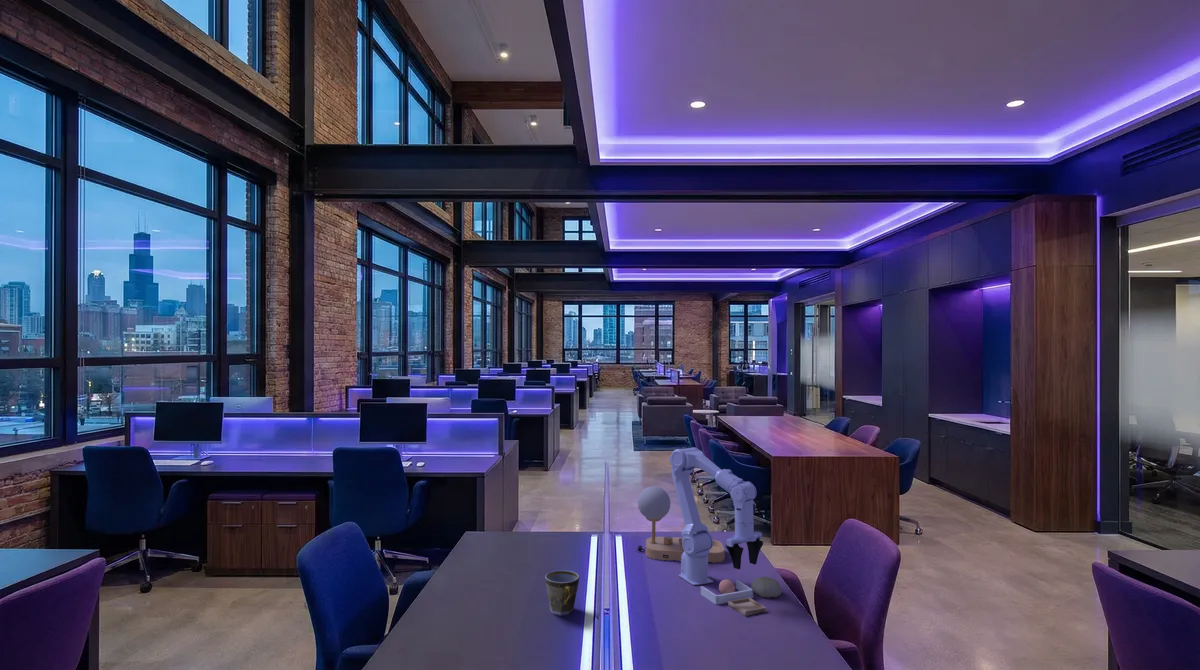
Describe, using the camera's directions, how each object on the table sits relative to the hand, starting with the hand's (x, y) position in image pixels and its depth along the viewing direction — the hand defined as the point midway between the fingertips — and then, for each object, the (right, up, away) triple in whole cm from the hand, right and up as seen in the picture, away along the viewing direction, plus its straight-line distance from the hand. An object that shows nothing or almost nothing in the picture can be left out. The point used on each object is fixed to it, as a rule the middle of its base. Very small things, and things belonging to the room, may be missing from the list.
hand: (745, 566), depth 184 cm
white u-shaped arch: (-5, -10, +2) cm, 12 cm away
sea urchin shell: (+8, -11, +4) cm, 14 cm away
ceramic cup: (-56, -9, -13) cm, 58 cm away
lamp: (-15, -12, +41) cm, 45 cm away
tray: (-1, -10, -7) cm, 12 cm away
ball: (-5, -10, +2) cm, 12 cm away
